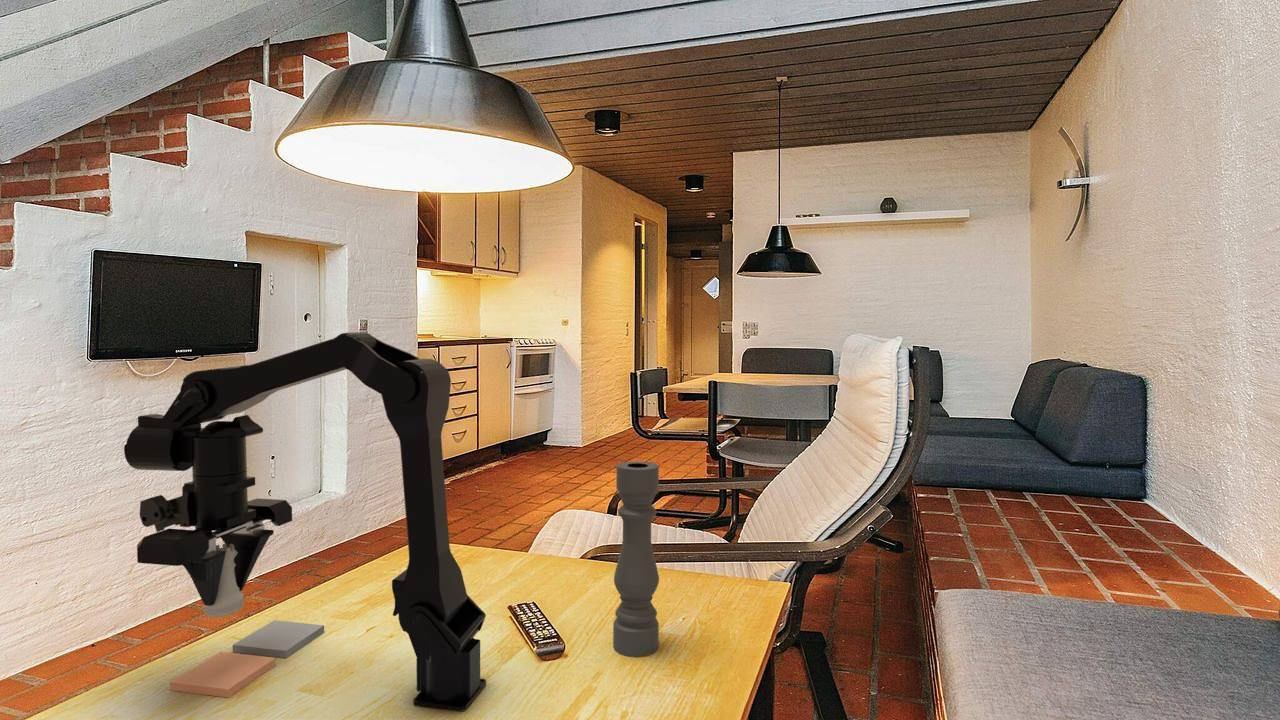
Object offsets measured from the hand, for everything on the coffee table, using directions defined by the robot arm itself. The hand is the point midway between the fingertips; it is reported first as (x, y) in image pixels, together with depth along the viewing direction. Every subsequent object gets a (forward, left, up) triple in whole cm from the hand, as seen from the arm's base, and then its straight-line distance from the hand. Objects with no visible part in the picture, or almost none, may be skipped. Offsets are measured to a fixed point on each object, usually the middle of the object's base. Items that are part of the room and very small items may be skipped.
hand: (223, 597), depth 88 cm
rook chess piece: (0, 0, -2) cm, 2 cm away
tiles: (0, -5, -10) cm, 11 cm away
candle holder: (-48, -19, -10) cm, 52 cm away
